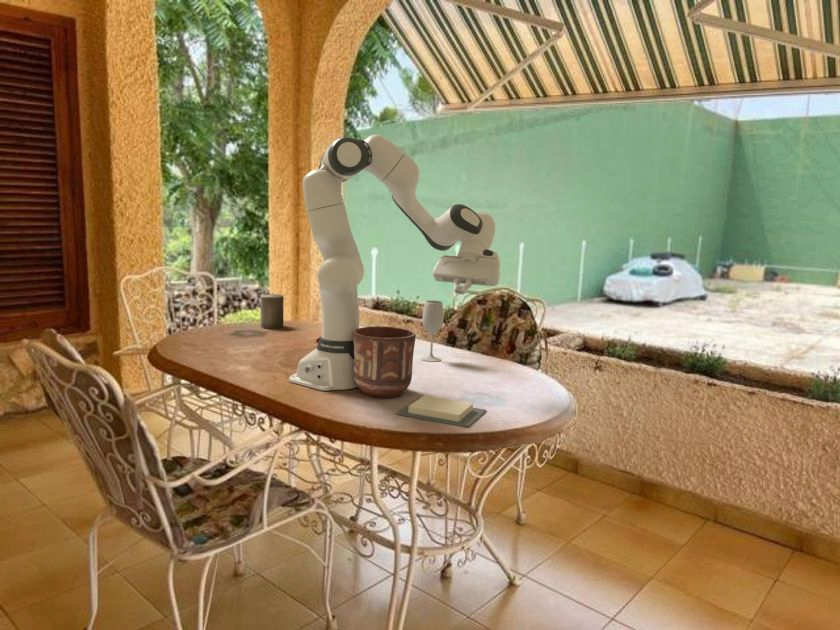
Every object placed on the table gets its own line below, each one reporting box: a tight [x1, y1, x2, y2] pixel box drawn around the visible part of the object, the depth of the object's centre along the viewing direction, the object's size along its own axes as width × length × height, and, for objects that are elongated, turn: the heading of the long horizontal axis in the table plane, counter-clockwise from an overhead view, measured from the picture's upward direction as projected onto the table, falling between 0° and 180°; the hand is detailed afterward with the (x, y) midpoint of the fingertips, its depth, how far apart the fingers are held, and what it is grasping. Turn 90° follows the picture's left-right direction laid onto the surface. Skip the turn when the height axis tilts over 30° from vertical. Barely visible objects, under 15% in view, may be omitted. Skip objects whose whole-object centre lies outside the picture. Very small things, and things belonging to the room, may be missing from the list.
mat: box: [395, 397, 487, 429], centre depth 166 cm, size 20×15×1 cm
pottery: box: [353, 325, 417, 399], centre depth 180 cm, size 18×18×18 cm
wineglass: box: [420, 300, 445, 363], centre depth 222 cm, size 8×8×21 cm
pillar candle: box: [260, 292, 285, 330], centre depth 268 cm, size 10×10×15 cm
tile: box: [408, 394, 474, 423], centre depth 165 cm, size 14×2×11 cm
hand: (459, 292), depth 183 cm, fingers closed
